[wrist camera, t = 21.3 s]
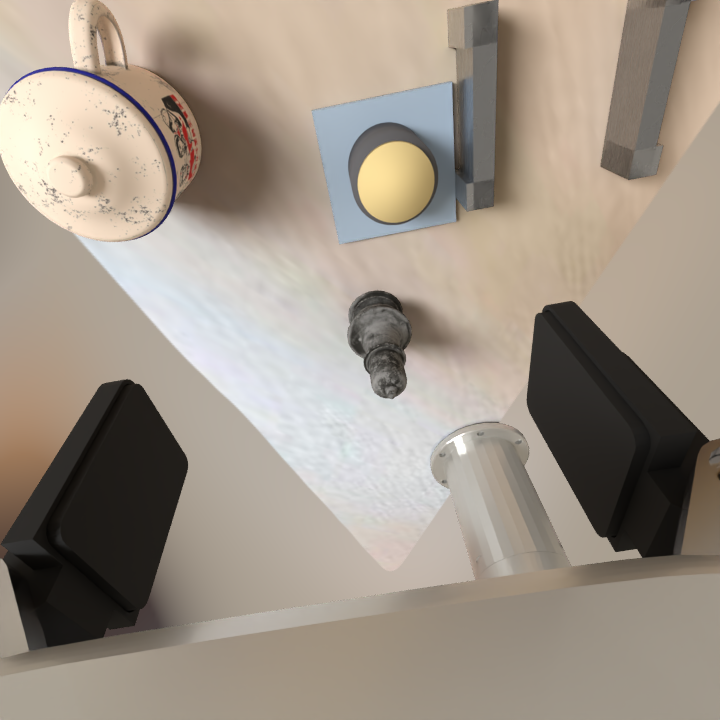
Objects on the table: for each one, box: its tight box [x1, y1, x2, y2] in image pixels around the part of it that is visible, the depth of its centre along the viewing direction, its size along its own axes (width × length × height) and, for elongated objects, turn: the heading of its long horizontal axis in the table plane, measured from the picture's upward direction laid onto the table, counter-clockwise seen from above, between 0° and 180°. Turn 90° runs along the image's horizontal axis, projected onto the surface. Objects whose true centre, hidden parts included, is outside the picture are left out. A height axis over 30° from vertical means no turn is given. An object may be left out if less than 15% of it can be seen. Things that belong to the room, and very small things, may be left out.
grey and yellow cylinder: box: [348, 122, 438, 225], centre depth 31 cm, size 6×6×5 cm
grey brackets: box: [448, 0, 695, 211], centre depth 30 cm, size 12×14×4 cm
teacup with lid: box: [0, 0, 202, 242], centre depth 26 cm, size 12×9×12 cm
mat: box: [312, 82, 456, 244], centre depth 33 cm, size 10×10×1 cm
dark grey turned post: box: [347, 291, 412, 399], centre depth 37 cm, size 6×6×12 cm
